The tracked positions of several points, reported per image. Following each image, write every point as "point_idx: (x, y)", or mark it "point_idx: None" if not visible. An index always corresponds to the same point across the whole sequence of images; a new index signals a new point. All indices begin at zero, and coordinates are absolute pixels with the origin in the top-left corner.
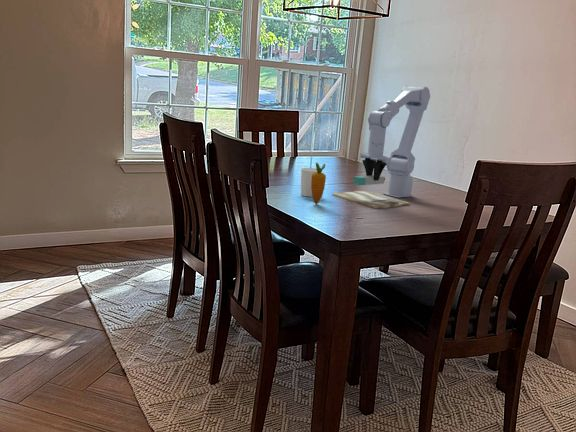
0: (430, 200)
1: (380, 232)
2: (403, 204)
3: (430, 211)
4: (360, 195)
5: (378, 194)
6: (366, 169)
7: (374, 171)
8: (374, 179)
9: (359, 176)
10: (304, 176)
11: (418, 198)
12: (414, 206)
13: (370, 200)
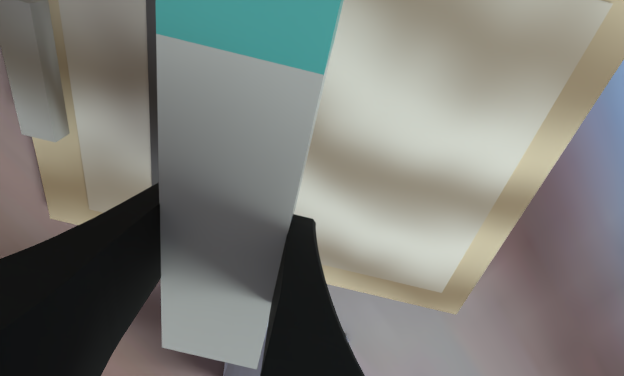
0: (131, 371)
1: None
2: (42, 161)
3: None
4: (385, 133)
5: (326, 278)
6: (298, 304)
7: (78, 249)
8: (156, 187)
9: (296, 15)
10: None
11: (185, 371)
12: (23, 201)
13: None
